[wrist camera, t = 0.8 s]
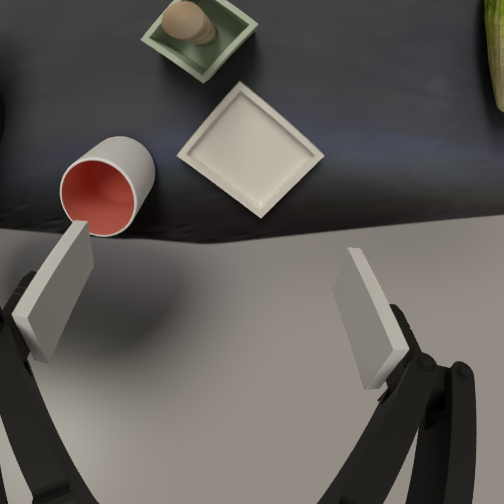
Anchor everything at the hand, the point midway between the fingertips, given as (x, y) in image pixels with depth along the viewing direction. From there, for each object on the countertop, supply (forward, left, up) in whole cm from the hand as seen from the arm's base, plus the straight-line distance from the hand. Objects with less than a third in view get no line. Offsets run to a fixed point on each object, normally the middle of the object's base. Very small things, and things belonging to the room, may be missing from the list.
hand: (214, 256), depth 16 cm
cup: (-8, -13, -28) cm, 32 cm away
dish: (+4, 0, -28) cm, 28 cm away
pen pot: (-10, +8, -28) cm, 31 cm away
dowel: (-10, +8, -27) cm, 30 cm away
